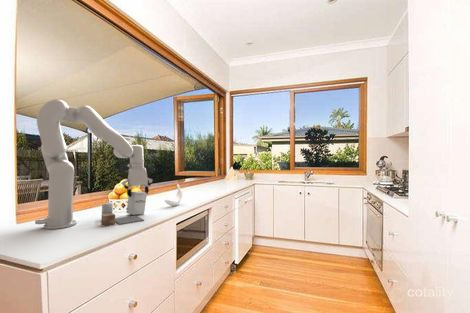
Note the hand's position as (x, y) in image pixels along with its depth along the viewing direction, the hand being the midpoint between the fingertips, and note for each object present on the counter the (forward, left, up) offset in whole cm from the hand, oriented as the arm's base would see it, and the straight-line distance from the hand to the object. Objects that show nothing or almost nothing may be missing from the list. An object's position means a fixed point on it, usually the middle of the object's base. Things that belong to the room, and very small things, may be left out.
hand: (138, 195), depth 137 cm
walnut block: (-19, -13, -11) cm, 25 cm away
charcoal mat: (-9, -11, -11) cm, 18 cm away
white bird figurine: (+29, +11, -11) cm, 33 cm away
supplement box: (-1, 0, -11) cm, 11 cm away
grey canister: (-17, -1, -11) cm, 20 cm away
